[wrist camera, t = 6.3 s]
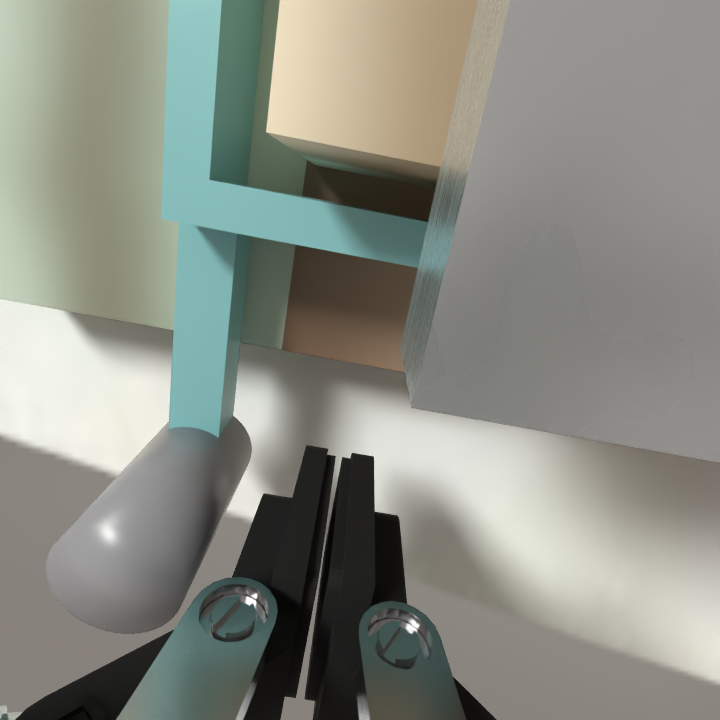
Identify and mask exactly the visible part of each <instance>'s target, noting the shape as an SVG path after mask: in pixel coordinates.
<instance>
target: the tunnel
mask: <svg viewBox="0 0 720 720" xmlns="http://www.w3.org/2000/svg"><path fill="white" fill-rule="evenodd" d="M400 351H401V357H402V362H403V367H404V372H405V377H406V382H407V388H408V393H409V398H410V403H411V408H416V409H421V410H427V411H433V412H438V413H444V414H449V415H455V416H461V417H466V418H472V419H477V420H483V421H489V422H494V423H500V424H505V425H511V426H517V427H522V428H528V429H533V430H539V431H545V432H550V433H556V434H561V435H567V436H573V437H578V438H584V439H589V440H595V441H601V442H606V443H612V444H617V445H623V446H628V447H634V448H640V449H645V450H651V451H656V452H662V453H668V454H673V455H679V456H684V457H690V458H696V459H701V460H707V461H712V462H718V463H720V0H478V1H477V5H476V10H475V14H474V18H473V23H472V27H471V32H470V36H469V41H468V45H467V50H466V54H465V59H464V63H463V68H462V72H461V77H460V81H459V86H458V90H457V95H456V99H455V104H454V108H453V113H452V117H451V121H450V126H449V130H448V135H447V139H446V144H445V148H444V153H443V157H442V162H441V166H440V171H439V175H438V180H437V184H436V189H435V193H434V198H433V202H432V207H431V211H430V216H429V220H428V225H427V229H426V234H425V238H424V242H423V247H422V251H421V256H420V260H419V265H418V269H417V274H416V278H415V283H414V287H413V292H412V296H411V301H410V305H409V310H408V314H407V319H406V323H405V328H404V332H403V337H402V341H401V346H400Z"/></svg>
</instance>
